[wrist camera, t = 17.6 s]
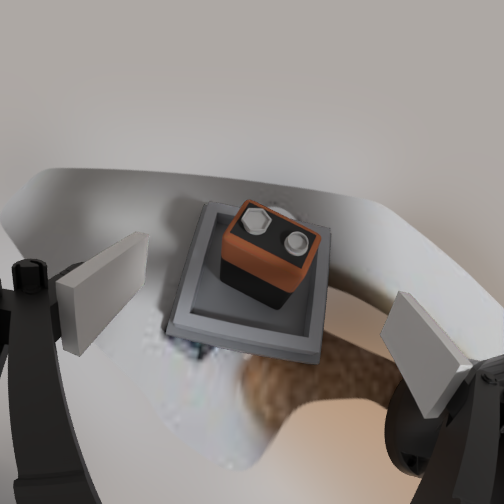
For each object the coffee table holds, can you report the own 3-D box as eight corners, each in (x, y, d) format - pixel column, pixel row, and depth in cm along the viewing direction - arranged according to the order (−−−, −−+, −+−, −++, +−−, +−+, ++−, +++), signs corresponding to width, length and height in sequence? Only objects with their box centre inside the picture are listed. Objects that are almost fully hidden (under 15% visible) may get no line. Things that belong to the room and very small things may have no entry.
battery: (238, 247, 32) (248, 188, 23) (295, 277, 31) (328, 227, 22) (217, 281, 30) (220, 230, 21) (278, 313, 29) (308, 274, 20)
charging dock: (316, 365, 28) (326, 361, 25) (167, 334, 28) (162, 328, 25) (328, 237, 35) (337, 224, 32) (204, 209, 34) (203, 193, 32)
